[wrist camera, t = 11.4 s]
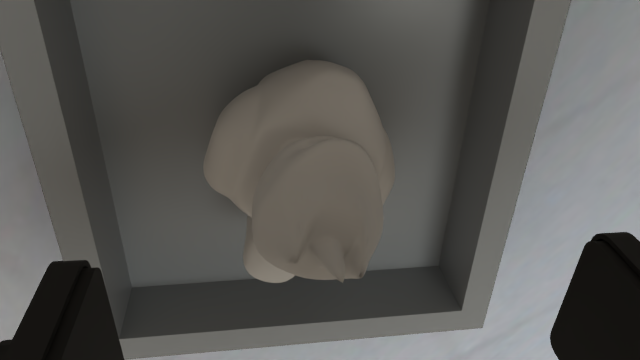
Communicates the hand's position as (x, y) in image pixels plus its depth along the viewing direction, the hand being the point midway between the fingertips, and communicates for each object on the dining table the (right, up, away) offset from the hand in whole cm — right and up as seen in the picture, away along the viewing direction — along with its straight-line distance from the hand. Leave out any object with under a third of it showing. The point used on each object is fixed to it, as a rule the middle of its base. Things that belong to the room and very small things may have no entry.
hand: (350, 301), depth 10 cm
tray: (-2, +4, +8) cm, 9 cm away
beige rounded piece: (-2, +4, +7) cm, 8 cm away
